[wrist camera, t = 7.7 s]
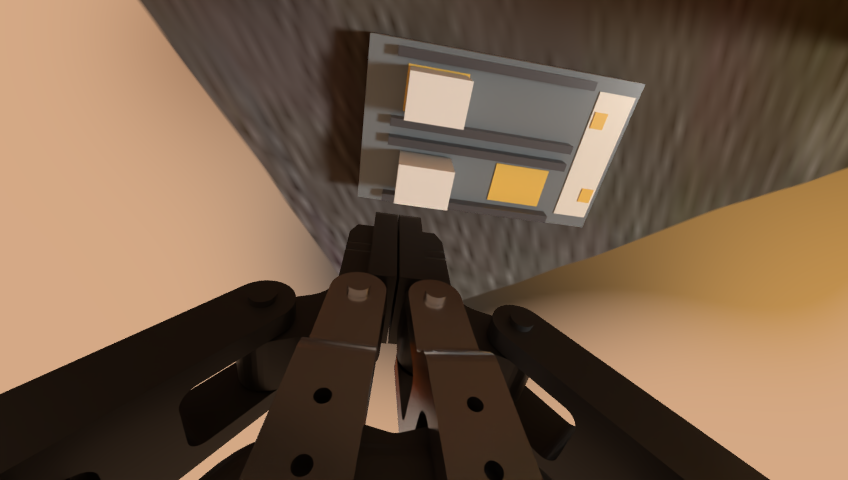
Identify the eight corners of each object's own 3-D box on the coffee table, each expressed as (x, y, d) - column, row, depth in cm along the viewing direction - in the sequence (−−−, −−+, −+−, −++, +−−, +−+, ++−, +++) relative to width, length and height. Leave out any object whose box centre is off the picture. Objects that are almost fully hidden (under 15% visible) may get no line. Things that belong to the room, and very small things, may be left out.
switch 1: (466, 75, 25) (474, 81, 22) (457, 119, 27) (463, 130, 24) (410, 65, 25) (410, 70, 22) (404, 110, 26) (403, 120, 23)
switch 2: (450, 158, 28) (455, 172, 25) (443, 193, 30) (446, 210, 27) (400, 150, 28) (398, 164, 25) (395, 186, 29) (393, 203, 26)
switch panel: (624, 79, 29) (653, 86, 25) (569, 212, 35) (586, 232, 31) (374, 32, 26) (368, 32, 23) (362, 183, 32) (356, 201, 29)
